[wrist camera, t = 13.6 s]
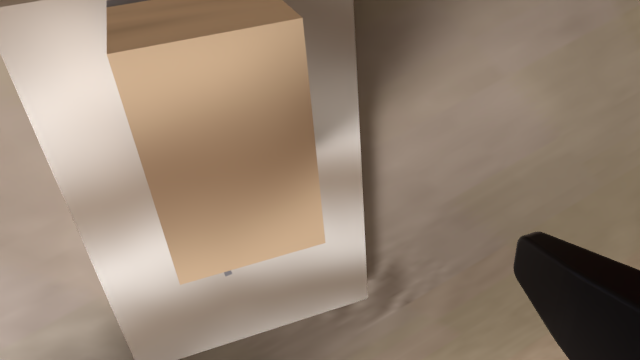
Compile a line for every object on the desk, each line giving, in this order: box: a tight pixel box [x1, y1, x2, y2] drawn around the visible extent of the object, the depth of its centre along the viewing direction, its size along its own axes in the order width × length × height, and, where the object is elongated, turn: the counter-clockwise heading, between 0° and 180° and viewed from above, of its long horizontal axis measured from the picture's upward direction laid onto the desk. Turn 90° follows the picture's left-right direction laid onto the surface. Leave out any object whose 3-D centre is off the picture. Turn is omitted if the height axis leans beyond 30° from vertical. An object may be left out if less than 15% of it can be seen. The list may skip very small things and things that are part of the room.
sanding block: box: [106, 0, 325, 285], centre depth 16 cm, size 7×4×5 cm, turn 5°
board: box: [0, 0, 368, 360], centre depth 21 cm, size 16×11×1 cm
